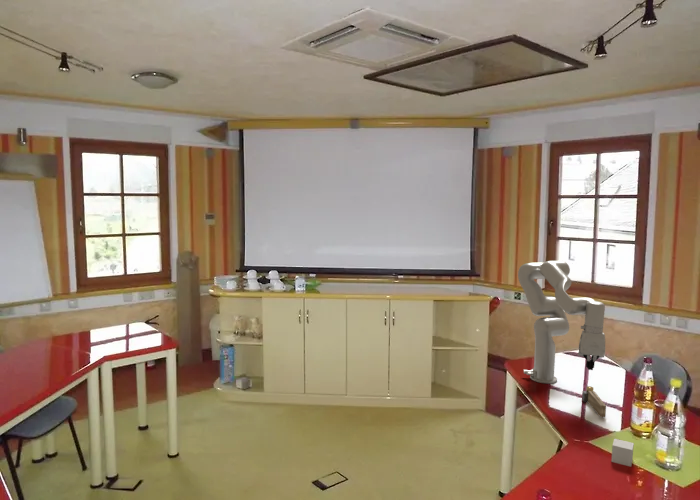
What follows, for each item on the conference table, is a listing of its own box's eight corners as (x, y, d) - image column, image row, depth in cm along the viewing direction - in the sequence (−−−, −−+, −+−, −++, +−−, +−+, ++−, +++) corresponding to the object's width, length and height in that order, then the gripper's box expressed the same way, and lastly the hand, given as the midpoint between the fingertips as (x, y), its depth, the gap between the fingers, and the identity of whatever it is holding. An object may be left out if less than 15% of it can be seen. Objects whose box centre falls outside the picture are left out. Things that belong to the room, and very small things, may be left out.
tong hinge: (583, 402, 227) (584, 392, 226) (582, 399, 230) (582, 390, 229) (596, 402, 226) (596, 393, 226) (594, 400, 229) (594, 390, 228)
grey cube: (611, 462, 174) (612, 445, 174) (613, 454, 179) (614, 438, 179) (631, 467, 171) (632, 449, 170) (632, 459, 176) (633, 443, 175)
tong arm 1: (600, 416, 210) (600, 405, 209) (587, 401, 226) (588, 390, 225) (602, 417, 210) (603, 405, 209) (590, 401, 226) (590, 390, 225)
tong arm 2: (602, 417, 210) (603, 405, 209) (591, 401, 226) (591, 391, 225) (605, 417, 209) (606, 405, 209) (593, 402, 226) (594, 391, 225)
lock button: (587, 392, 226) (587, 388, 226) (585, 390, 229) (585, 386, 229) (594, 393, 226) (594, 388, 226) (592, 390, 229) (592, 386, 228)
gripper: (577, 330, 222) (574, 370, 225) (614, 332, 220) (610, 373, 222) (573, 325, 230) (570, 364, 232) (608, 328, 227) (604, 367, 230)
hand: (589, 369), depth 227 cm, fingers closed
